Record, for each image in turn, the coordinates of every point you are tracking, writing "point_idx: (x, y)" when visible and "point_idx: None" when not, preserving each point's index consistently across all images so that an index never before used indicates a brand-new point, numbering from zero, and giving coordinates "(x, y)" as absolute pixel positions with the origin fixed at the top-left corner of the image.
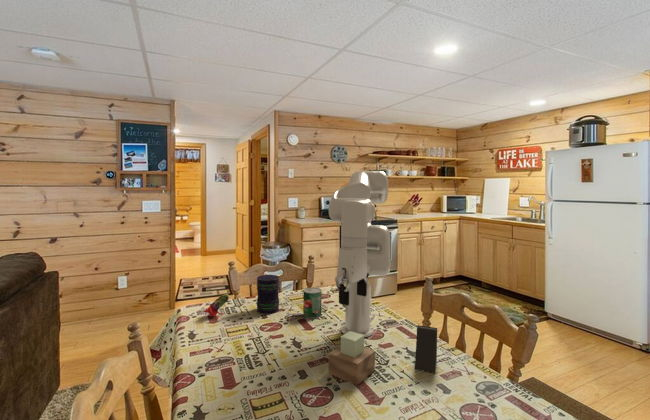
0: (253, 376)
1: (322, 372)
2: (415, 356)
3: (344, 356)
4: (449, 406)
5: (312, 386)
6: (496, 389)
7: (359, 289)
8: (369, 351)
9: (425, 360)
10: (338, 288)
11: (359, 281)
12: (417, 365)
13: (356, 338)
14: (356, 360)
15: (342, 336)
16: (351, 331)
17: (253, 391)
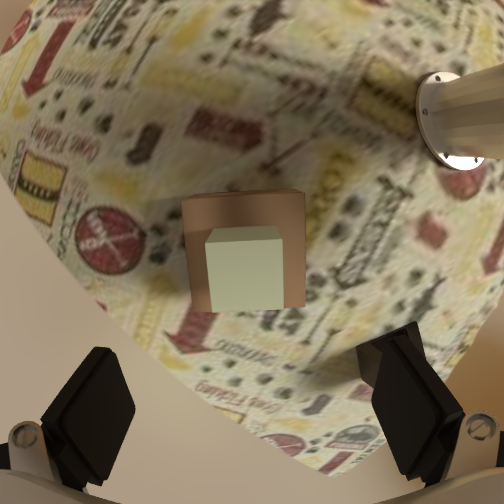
0: (71, 79)
1: (186, 178)
2: (373, 359)
3: (202, 254)
4: (268, 425)
5: (123, 206)
6: (358, 441)
7: (399, 395)
8: (289, 296)
9: (372, 373)
10: (7, 446)
11: (440, 446)
12: (361, 355)
13: (235, 303)
14: (209, 297)
15: (208, 249)
16: (280, 248)
17: (40, 131)
